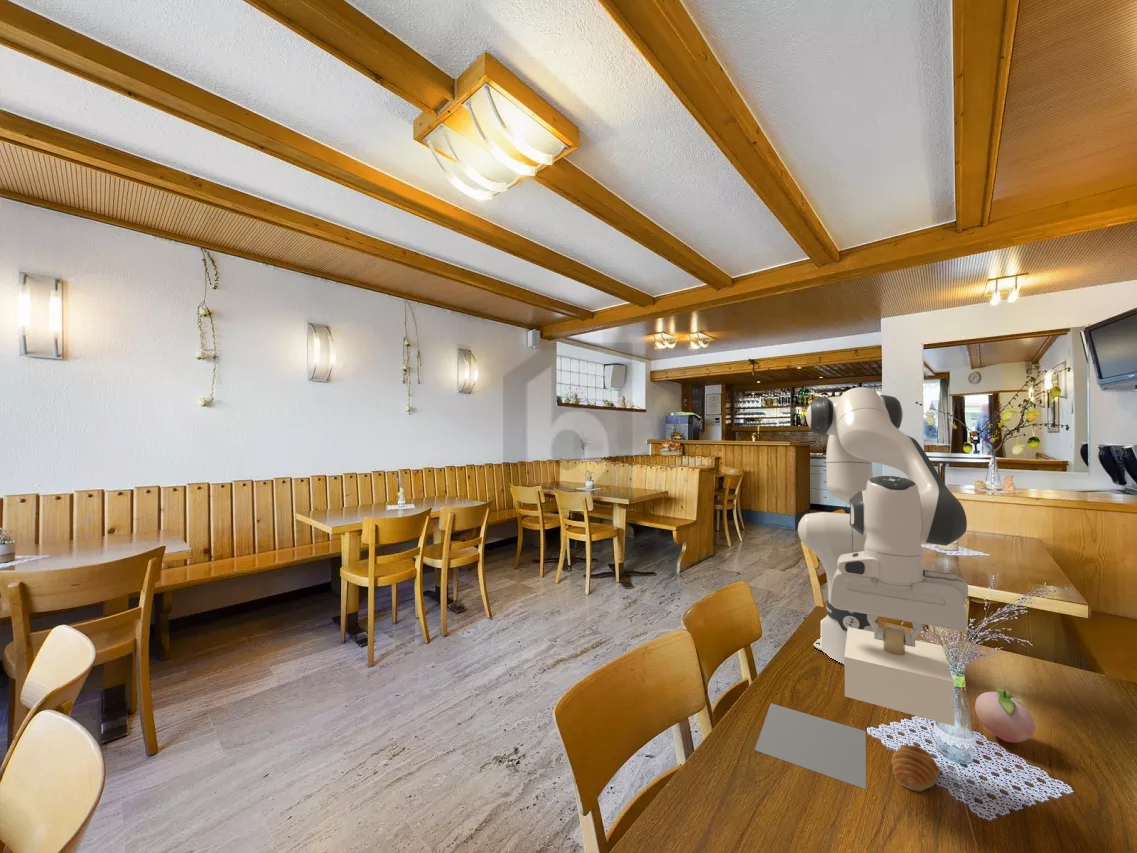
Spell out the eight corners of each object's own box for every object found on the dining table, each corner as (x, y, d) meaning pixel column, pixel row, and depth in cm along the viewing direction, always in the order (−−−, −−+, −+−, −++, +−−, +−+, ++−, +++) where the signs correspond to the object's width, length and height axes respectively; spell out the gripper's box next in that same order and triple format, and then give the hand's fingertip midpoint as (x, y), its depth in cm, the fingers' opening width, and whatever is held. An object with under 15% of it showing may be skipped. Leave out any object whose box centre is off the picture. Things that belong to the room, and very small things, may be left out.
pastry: (932, 804, 75) (932, 781, 75) (884, 782, 80) (883, 760, 80) (941, 774, 82) (940, 753, 82) (896, 756, 87) (895, 735, 87)
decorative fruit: (969, 721, 96) (968, 674, 97) (1021, 733, 93) (1020, 684, 93) (984, 748, 88) (983, 696, 88) (1042, 763, 84) (1041, 708, 84)
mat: (770, 704, 103) (770, 703, 103) (865, 733, 93) (865, 731, 93) (754, 752, 88) (754, 749, 88) (866, 791, 78) (866, 789, 78)
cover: (848, 661, 93) (847, 607, 94) (942, 683, 85) (941, 624, 85) (844, 696, 81) (844, 634, 81) (954, 726, 73) (953, 656, 73)
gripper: (964, 570, 80) (965, 649, 80) (831, 554, 92) (831, 623, 91) (971, 580, 75) (972, 665, 75) (828, 561, 86) (829, 634, 86)
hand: (894, 641), depth 83 cm, fingers closed on cover, 3 cm apart
